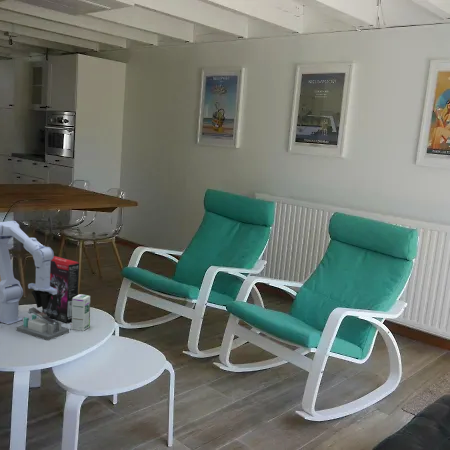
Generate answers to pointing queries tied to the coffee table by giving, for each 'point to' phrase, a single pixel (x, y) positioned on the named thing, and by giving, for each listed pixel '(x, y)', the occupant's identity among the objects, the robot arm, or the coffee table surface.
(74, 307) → the syrup box
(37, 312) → the clamp strap
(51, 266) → the graphics card box
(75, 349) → the coffee table surface
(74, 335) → the coffee table surface
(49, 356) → the coffee table surface
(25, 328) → the clamp board
